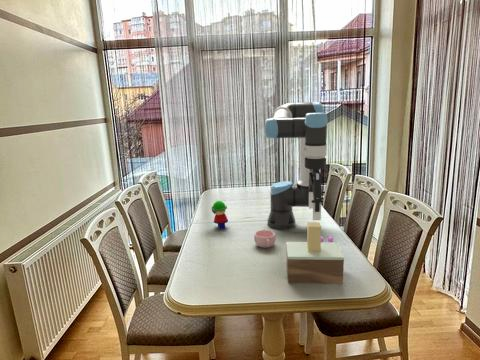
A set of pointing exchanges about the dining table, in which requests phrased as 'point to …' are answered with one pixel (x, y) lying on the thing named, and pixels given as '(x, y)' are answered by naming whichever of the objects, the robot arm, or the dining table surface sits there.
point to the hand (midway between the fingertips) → (314, 213)
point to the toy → (220, 214)
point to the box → (315, 271)
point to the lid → (314, 246)
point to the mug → (264, 238)
